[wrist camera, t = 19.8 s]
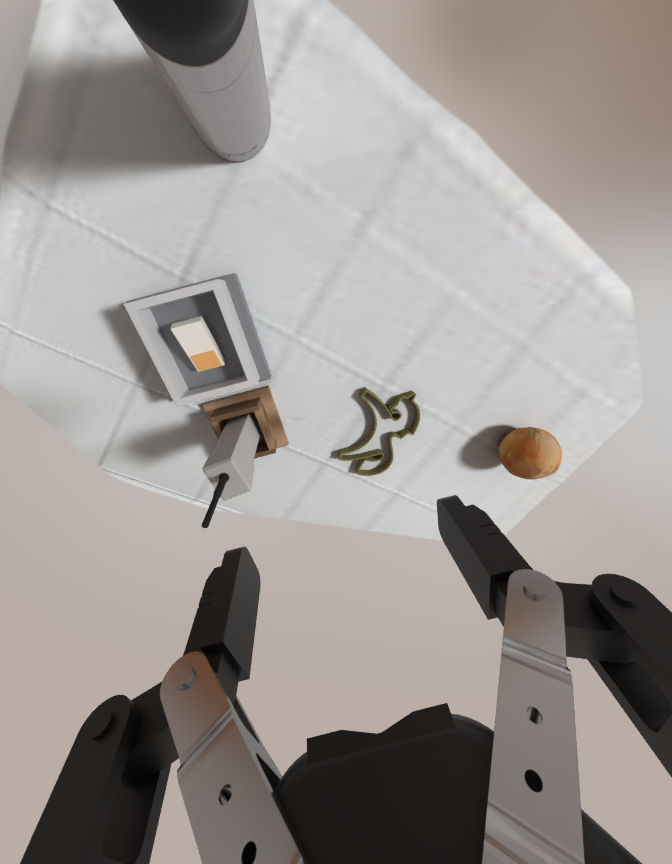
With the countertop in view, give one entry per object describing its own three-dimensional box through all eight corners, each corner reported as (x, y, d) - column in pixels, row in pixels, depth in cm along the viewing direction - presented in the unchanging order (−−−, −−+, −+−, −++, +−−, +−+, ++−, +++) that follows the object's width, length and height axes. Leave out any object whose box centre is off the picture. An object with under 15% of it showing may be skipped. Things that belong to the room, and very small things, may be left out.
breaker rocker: (172, 323, 39) (170, 329, 38) (201, 316, 39) (200, 321, 38) (199, 366, 45) (198, 372, 44) (225, 359, 45) (224, 365, 44)
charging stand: (204, 402, 49) (194, 414, 45) (268, 385, 49) (265, 395, 45) (229, 458, 54) (223, 473, 49) (288, 442, 54) (287, 456, 49)
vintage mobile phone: (244, 440, 52) (204, 554, 29) (230, 415, 49) (174, 519, 27) (264, 432, 51) (238, 541, 29) (251, 407, 49) (211, 504, 27)
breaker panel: (133, 301, 42) (109, 302, 36) (236, 274, 42) (227, 271, 36) (182, 399, 48) (167, 412, 43) (271, 375, 48) (268, 386, 43)
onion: (533, 410, 57) (577, 432, 48) (537, 451, 61) (578, 478, 52) (485, 430, 58) (519, 455, 49) (492, 469, 62) (525, 499, 53)
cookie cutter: (365, 375, 51) (368, 378, 49) (426, 395, 54) (431, 398, 52) (332, 463, 57) (333, 468, 56) (387, 476, 60) (390, 482, 58)
